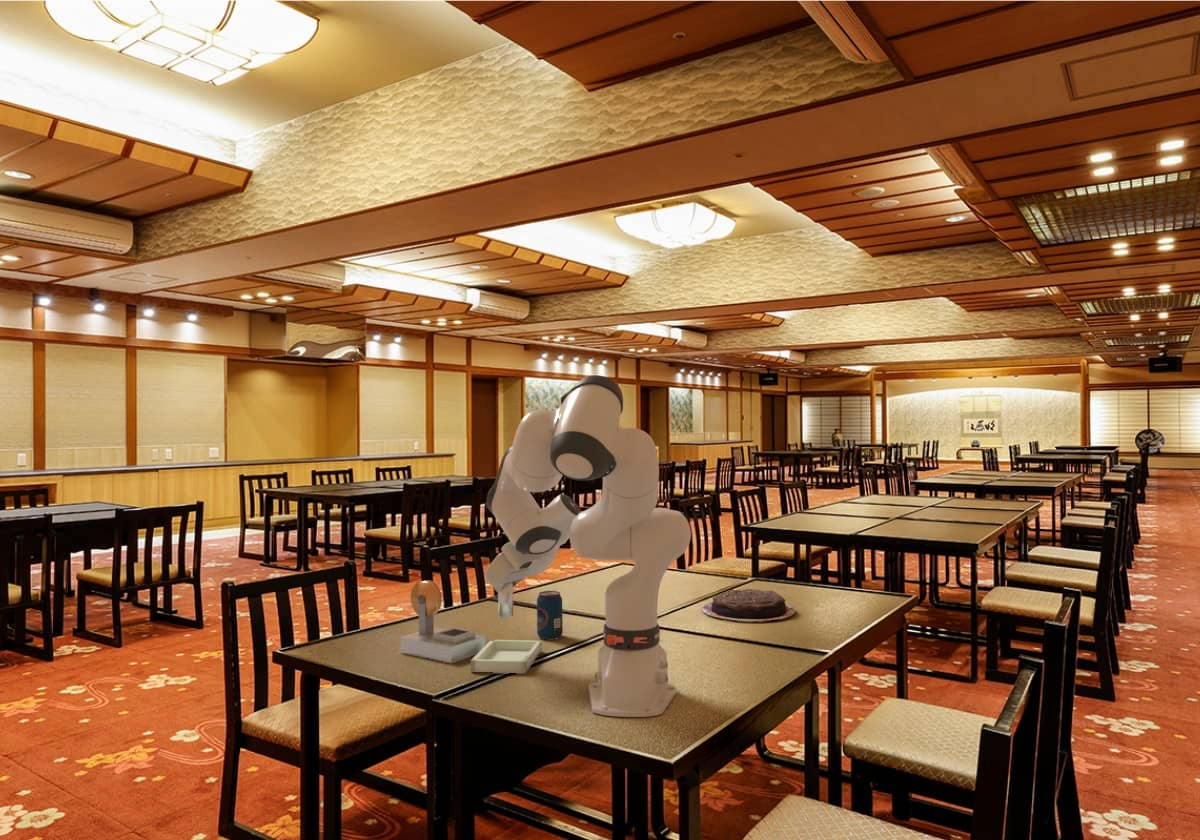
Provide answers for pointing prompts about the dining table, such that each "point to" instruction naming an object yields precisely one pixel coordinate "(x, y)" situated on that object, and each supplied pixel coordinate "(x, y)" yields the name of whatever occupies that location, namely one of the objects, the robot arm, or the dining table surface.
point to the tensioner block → (437, 630)
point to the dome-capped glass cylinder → (506, 600)
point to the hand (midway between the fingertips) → (503, 587)
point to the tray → (506, 656)
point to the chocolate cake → (748, 606)
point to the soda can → (549, 615)
